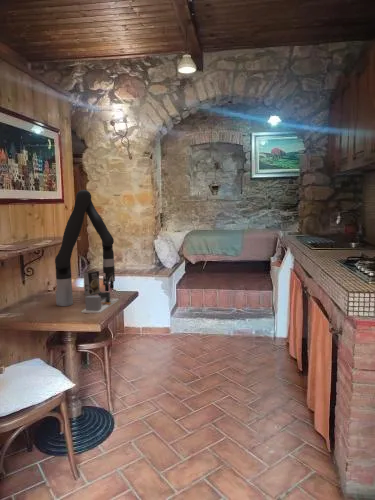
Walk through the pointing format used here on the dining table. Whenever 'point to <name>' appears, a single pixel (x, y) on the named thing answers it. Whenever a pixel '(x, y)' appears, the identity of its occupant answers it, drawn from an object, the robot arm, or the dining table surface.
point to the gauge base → (96, 304)
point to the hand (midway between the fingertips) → (109, 289)
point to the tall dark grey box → (104, 297)
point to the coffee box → (91, 282)
